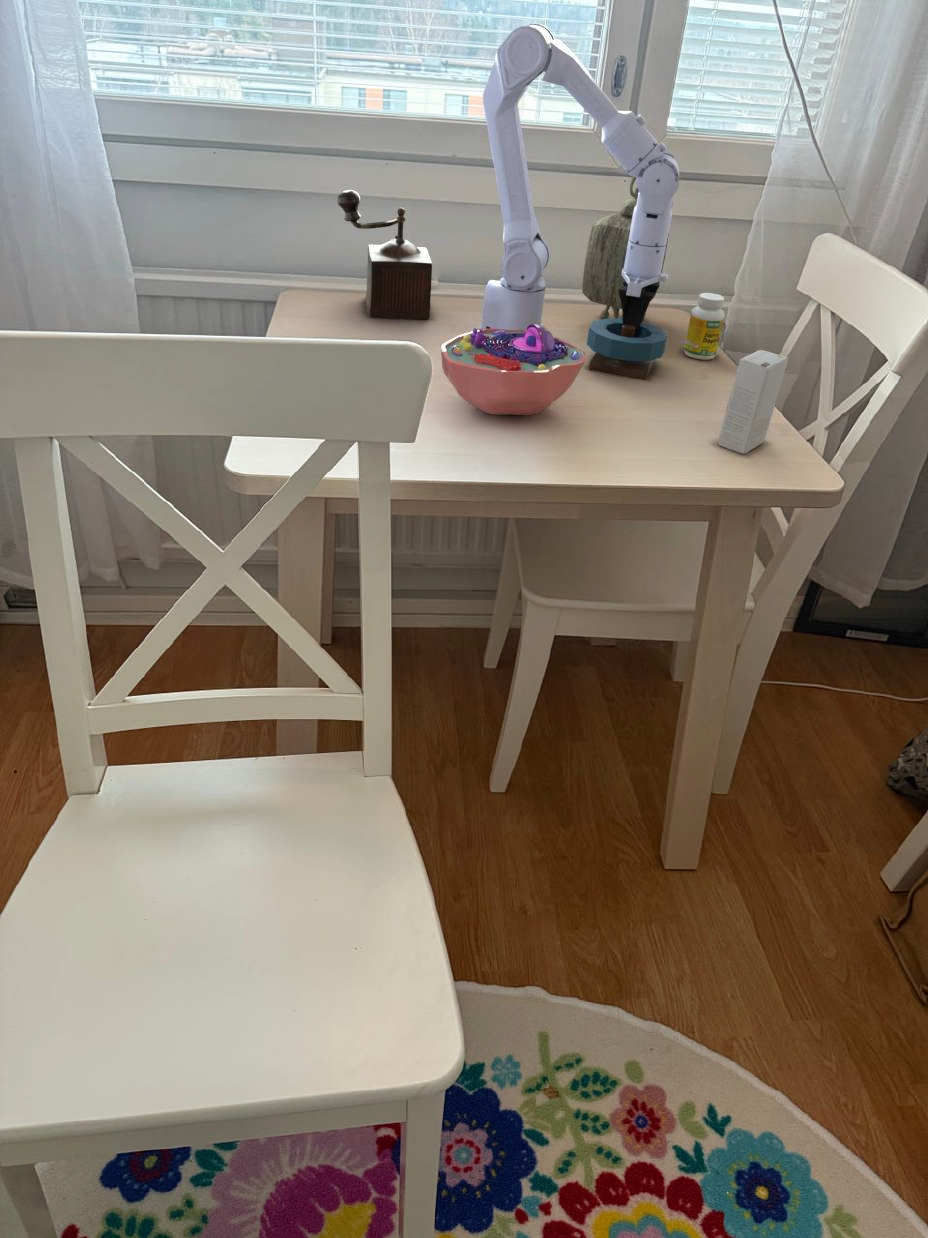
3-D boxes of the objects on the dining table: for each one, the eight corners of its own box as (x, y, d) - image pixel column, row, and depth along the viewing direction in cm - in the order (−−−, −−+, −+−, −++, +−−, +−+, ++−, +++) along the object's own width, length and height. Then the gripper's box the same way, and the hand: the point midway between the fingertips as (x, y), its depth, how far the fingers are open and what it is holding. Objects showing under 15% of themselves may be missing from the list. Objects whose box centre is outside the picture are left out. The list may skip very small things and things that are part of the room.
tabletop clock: (620, 337, 164) (648, 178, 150) (573, 325, 168) (595, 168, 154) (653, 318, 175) (681, 168, 161) (607, 307, 179) (631, 159, 165)
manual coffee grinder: (423, 300, 173) (430, 192, 163) (430, 319, 164) (437, 206, 154) (336, 296, 170) (336, 186, 160) (338, 316, 161) (339, 201, 151)
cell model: (418, 389, 137) (422, 309, 131) (544, 381, 144) (554, 304, 138) (462, 438, 125) (470, 352, 118) (598, 426, 132) (613, 344, 125)
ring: (581, 352, 148) (584, 334, 146) (595, 331, 157) (598, 313, 156) (658, 366, 146) (661, 347, 144) (667, 343, 155) (671, 326, 153)
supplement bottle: (699, 347, 163) (712, 289, 158) (722, 357, 160) (736, 299, 155) (676, 351, 161) (688, 292, 155) (699, 362, 157) (712, 302, 152)
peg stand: (588, 369, 150) (595, 329, 147) (599, 351, 157) (605, 313, 154) (646, 379, 148) (654, 339, 145) (654, 361, 156) (661, 323, 152)
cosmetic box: (736, 433, 134) (758, 347, 127) (766, 443, 131) (790, 356, 125) (715, 445, 130) (737, 356, 123) (745, 456, 127) (769, 367, 121)
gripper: (667, 256, 140) (650, 348, 148) (679, 236, 152) (662, 322, 159) (619, 249, 141) (604, 340, 149) (634, 229, 153) (619, 315, 161)
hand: (631, 330), depth 154 cm, fingers closed on ring, 2 cm apart
